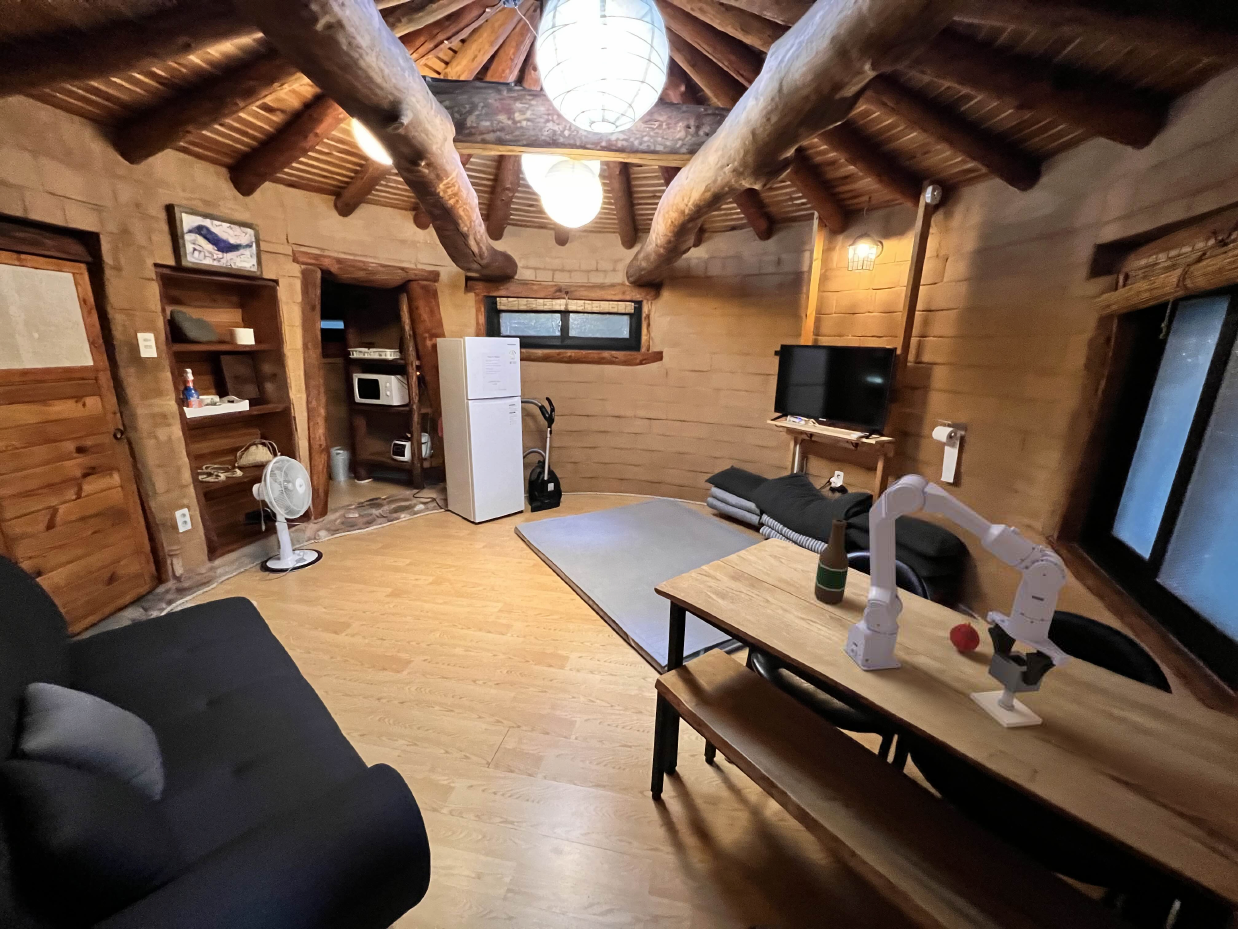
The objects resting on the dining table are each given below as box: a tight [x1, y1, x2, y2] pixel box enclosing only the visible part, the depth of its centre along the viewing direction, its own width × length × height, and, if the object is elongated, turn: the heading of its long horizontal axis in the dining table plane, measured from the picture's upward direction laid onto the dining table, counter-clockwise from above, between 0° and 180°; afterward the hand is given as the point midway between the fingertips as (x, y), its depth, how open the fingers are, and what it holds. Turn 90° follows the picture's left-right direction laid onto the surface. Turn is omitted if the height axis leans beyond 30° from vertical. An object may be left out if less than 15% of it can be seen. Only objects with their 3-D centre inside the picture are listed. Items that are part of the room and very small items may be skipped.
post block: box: [970, 686, 1043, 729], centre depth 95 cm, size 8×8×5 cm
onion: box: [949, 620, 981, 653], centre depth 113 cm, size 6×6×8 cm
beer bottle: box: [813, 518, 850, 606], centre depth 133 cm, size 8×8×24 cm
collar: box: [987, 650, 1044, 694], centre depth 93 cm, size 6×6×5 cm
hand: (1014, 673), depth 93 cm, fingers closed on collar, 6 cm apart
